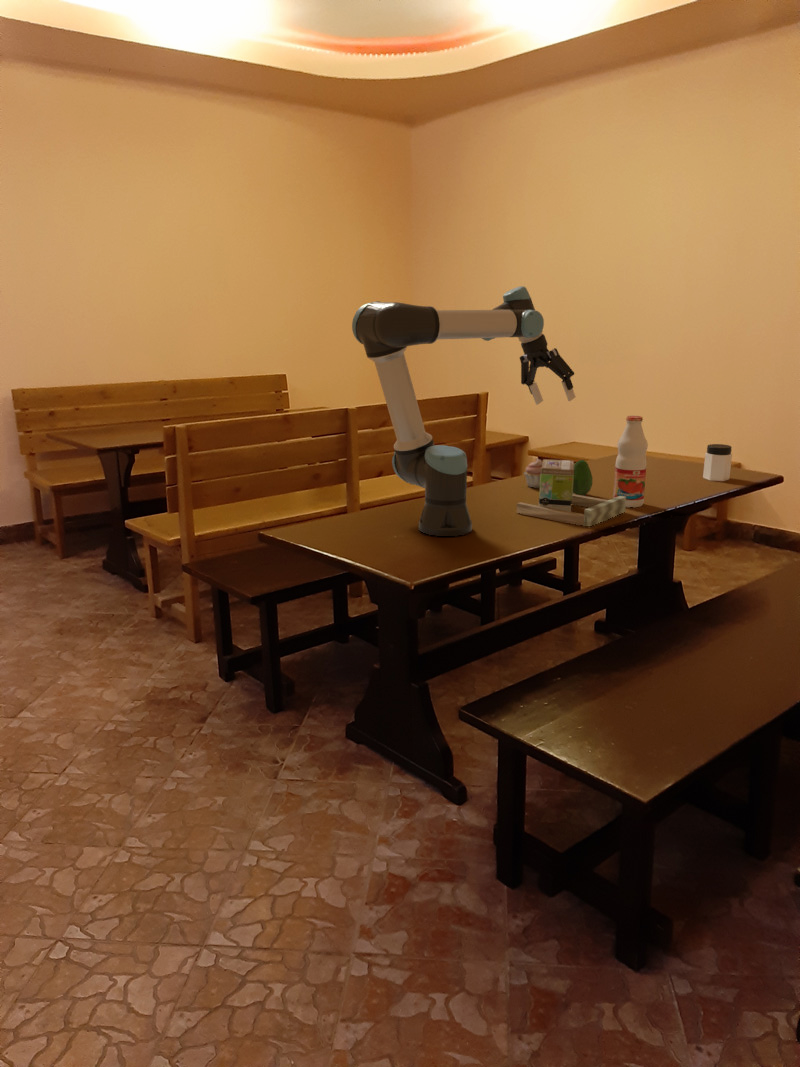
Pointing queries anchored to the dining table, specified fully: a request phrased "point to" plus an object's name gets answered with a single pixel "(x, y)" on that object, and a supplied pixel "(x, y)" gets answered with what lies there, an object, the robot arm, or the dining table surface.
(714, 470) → the jar
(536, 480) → the cupcake
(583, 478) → the avocado
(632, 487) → the fruit juice
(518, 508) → the chute
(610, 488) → the dining table surface
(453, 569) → the dining table surface
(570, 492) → the tea box
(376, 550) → the dining table surface
